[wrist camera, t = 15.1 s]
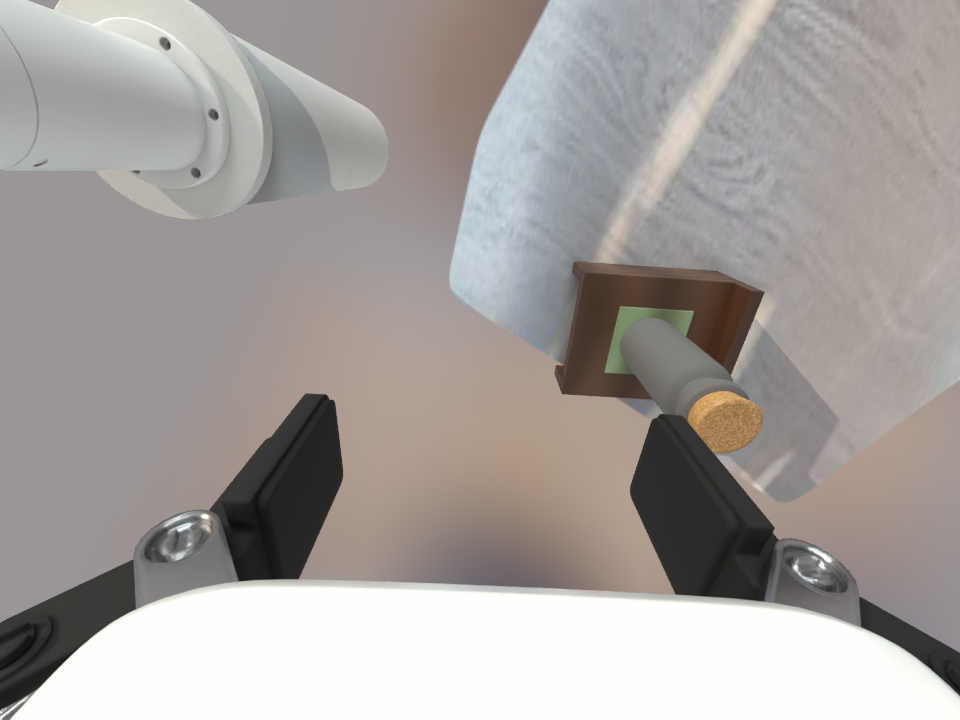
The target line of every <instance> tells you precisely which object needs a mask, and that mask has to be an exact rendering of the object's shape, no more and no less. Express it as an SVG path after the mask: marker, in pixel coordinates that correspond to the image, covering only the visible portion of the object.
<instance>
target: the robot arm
mask: <svg viewBox="0 0 960 720" xmlns="http://www.w3.org/2000/svg"><path fill="white" fill-rule="evenodd" d="M217 114H218V115H219V118H218V117H217ZM229 145H230V124H229V117H228V112H227V108H226V105H225V102H224V99H223V96H222V94H221V92H220V90H219V88H218V86H217V83H216V81H215V80H214V78H213V77H212V75H211V74H210V72H209V71H208V69H207V67H206V66H205V65H204V64H203V62H202V61H201V60H200V59H199V58H198V57H197V55H196V54H195V53H194V52H193V51H192V50H191V49H190V48H188V47H187V46H186V45H185V44H184V43H183V42H182V41H180V40H179V39H178V38H176V37H174V36H173V35H171V34H170V33H168V32H167V31H165V30H163V29H161V28H158V27H156V26H154V25H152V24H150V23H147V22H144V21H141V20H137V19H134V18H125V17H115V18H109V19H104V20H101V21H99V22H97V23H95V24H93V25H92V24H90V23H87V22H84V21H82V20H79V19H76V18H74V17H71V16H68V15H66V14H63V13H60V12H57V11H55V10H52V9H49V8H47V7H44V6H41V5H38V4H36V3H33V2H31V1H28V0H0V171H92V170H93V171H127V172H129V173H130V174H131V175H133V176H135V177H137V178H139V179H141V180H142V181H144V182H147V183H150V184H153V185H156V186H159V187H165V188H171V189H176V188H189V187H196V186H198V185H201V184H203V183H206V182H207V181H208V180H210V179H211V178H212V177H214V176H215V175H216V174H217V172H218V171H219V170H220V169H221V167H222V166H223V164H224V161H225V159H226V157H227V154H228V149H229ZM200 173H201V174H200ZM342 466H343V465H342V457H341V449H340V441H339V432H338V424H337V416H336V407H335V402H334V400H329V398H328V396H327V395H324V394H323V395H322V394H305V395H304V396H303V397H302V399H301V400H300V401H299V402H298V404H297V405H296V406H295V407H294V409H293V410H292V411H291V413H290V414H289V415H288V416H287V418H286V419H285V420H284V421H283V423H282V424H281V425H280V426H279V428H278V429H277V430H276V432H275V433H274V434H273V435H272V437H270V438H268V439H266V440H265V441H264V442H263V444H262V445H261V446H260V447H259V448H258V450H257V451H256V452H255V454H254V455H253V456H252V457H251V458H250V460H249V461H248V462H247V463H246V465H245V466H244V467H243V469H242V470H241V471H240V472H239V473H238V475H237V476H236V477H235V478H234V480H233V481H232V482H231V483H230V485H229V486H228V487H227V489H226V490H225V491H224V492H223V493H222V495H221V496H220V497H219V499H218V500H217V501H216V502H215V504H214V505H213V506H212V507H211V509H210V510H209V511H208V510H191V511H186V512H183V513H179V514H176V515H174V516H172V517H170V518H168V519H165V520H163V521H162V522H160V523H159V524H157V525H156V526H155V527H153V528H151V529H150V530H149V531H148V532H147V533H146V534H145V535H144V536H143V537H142V538H141V540H140V541H139V543H138V544H137V546H136V547H135V551H134V556H133V558H134V559H133V560H131V561H129V562H127V563H125V564H123V565H121V566H118V567H116V568H114V569H112V570H110V571H108V572H106V573H104V574H102V575H99V576H97V577H95V578H93V579H91V580H89V581H87V582H85V583H82V584H80V585H78V586H76V587H74V588H72V589H70V590H68V591H65V592H63V593H61V594H59V595H57V596H55V597H53V598H51V599H49V600H46V601H44V602H42V603H40V604H38V605H36V606H34V607H32V608H30V609H27V610H25V611H23V612H21V613H19V614H17V615H15V616H12V617H10V618H8V619H6V620H5V621H3V622H1V623H0V720H960V653H959V652H957V651H956V650H954V649H952V648H950V647H949V646H947V645H945V644H943V643H941V642H940V641H938V640H936V639H934V638H932V637H931V636H929V635H927V634H925V633H924V632H922V631H920V630H918V629H916V628H915V627H913V626H911V625H909V624H908V623H906V622H904V621H902V620H900V619H899V618H897V617H895V616H893V615H891V614H890V613H888V612H886V611H884V610H882V609H881V608H879V607H877V606H875V605H874V604H872V603H870V602H868V601H867V600H865V599H863V598H861V597H859V590H858V587H857V583H856V581H855V579H854V578H853V576H852V575H851V573H850V572H849V570H848V569H846V567H845V566H843V564H842V563H840V562H839V561H838V560H837V559H836V558H834V557H833V556H832V555H830V554H829V553H828V552H826V551H824V550H822V549H821V548H819V547H817V546H815V545H813V544H810V543H808V542H805V541H802V540H798V539H793V538H786V539H781V540H778V539H777V538H776V536H775V535H774V534H773V533H772V532H773V530H774V526H773V525H772V524H771V523H770V521H769V520H768V519H767V518H766V516H765V515H764V514H763V513H762V512H761V510H760V509H759V508H758V507H757V506H756V504H755V503H754V502H753V501H752V500H751V498H750V497H749V496H748V495H747V493H746V492H745V491H744V490H743V489H742V487H741V486H740V485H739V484H738V483H737V481H736V480H735V479H734V478H733V476H732V475H731V474H730V473H729V471H728V470H727V469H726V468H725V467H724V465H723V464H722V463H721V462H720V460H719V459H718V458H717V457H716V456H715V454H714V453H713V452H712V451H711V450H710V448H709V447H708V446H707V445H706V443H705V442H704V441H703V440H702V439H701V437H700V436H699V435H698V434H697V432H696V431H695V430H694V429H693V428H692V426H691V425H690V424H689V423H688V422H687V420H686V419H685V418H684V417H683V416H682V415H671V414H660V415H659V416H658V417H657V419H656V418H655V419H653V420H652V422H651V424H650V427H649V430H648V434H647V437H646V440H645V443H644V446H643V449H642V452H641V455H640V458H639V461H638V464H637V467H636V471H635V474H634V477H633V480H632V483H631V487H630V494H631V498H632V500H633V503H634V505H635V507H636V509H637V511H638V513H639V516H640V518H641V520H642V522H643V525H644V527H645V529H646V531H647V533H648V535H649V538H650V540H651V542H652V544H653V546H654V548H655V551H656V553H657V555H658V557H659V559H660V561H661V563H662V566H663V568H664V570H665V572H666V575H667V576H668V579H669V581H670V583H671V585H672V587H673V590H674V592H675V594H676V595H674V594H654V593H634V592H614V591H593V590H573V589H551V588H527V587H506V586H483V585H460V584H459V585H458V584H434V583H408V582H382V581H353V580H307V579H304V580H303V579H299V577H300V575H301V573H302V571H303V568H304V566H305V564H306V562H307V559H308V557H309V555H310V553H311V550H312V548H313V546H314V543H315V541H316V539H317V536H318V535H319V532H320V530H321V528H322V525H323V523H324V521H325V519H326V517H327V514H328V512H329V510H330V507H331V505H332V503H333V501H334V499H335V496H336V494H337V492H338V490H339V487H340V485H341V482H342V479H343V467H342Z"/></svg>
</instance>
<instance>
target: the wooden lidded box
mask: <svg viewBox="0 0 960 720" xmlns="http://www.w3.org/2000/svg"><path fill="white" fill-rule="evenodd" d="M572 272H573V273H574V274H575V276H576V277H577V278H578V279H579V280H580V285H579V291H578V296H577V301H576V307H575V312H574V317H573V323H572V328H571V334H570V339H569V344H568V350H567V355H566V360H565V366H559V365H556V368H555V376H556V378H557V381H558V384H559V387H560V390H561V392H562V394H569V395H586V396H603V397H620V398H637V399H653V398H652V397H651V396H650V394H649V393H648V392H647V390H646V389H645V388H644V386H643V385H642V384H641V382H640V381H639V380H638V378H637V377H636V376H635V374H634V373H633V372H632V370H631V369H630V368H629V366H628V365H627V364H626V362H625V361H624V359H623V358H622V356H621V353H620V341H621V338H622V336H623V334H624V333H625V331H626V330H627V329H628V328H629V327H630V326H631V325H632V324H634V323H636V322H637V321H639V320H642V319H646V318H659V319H662V320H665V321H666V322H668V323H669V324H671V325H672V326H673V327H675V328H676V329H677V330H678V331H680V332H681V333H682V334H683V335H685V336H686V337H687V338H688V339H690V340H691V341H692V342H693V343H694V344H696V345H697V346H698V347H699V348H701V349H702V350H703V351H704V352H706V353H707V354H708V355H709V356H710V357H712V358H713V359H714V360H715V361H717V362H718V363H719V364H720V365H721V366H723V367H724V368H725V369H726V370H727V371H728V373H729V374H730V375H731V373H732V371H733V368H734V366H735V363H736V361H737V358H738V356H739V354H740V351H741V349H742V346H743V344H744V341H745V339H746V336H747V334H748V332H749V329H750V327H751V324H752V322H753V319H754V317H755V314H756V312H757V310H758V307H759V305H760V302H761V300H762V297H763V295H764V291H762V290H759V289H757V288H755V287H752V286H750V285H748V284H745V283H743V282H741V281H738V280H736V279H734V278H731V277H729V276H727V275H724V274H722V273H720V272H717V271H706V270H691V269H677V268H662V267H647V266H633V265H618V264H604V263H589V262H574V265H573V271H572Z"/></svg>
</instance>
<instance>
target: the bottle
mask: <svg viewBox="0 0 960 720" xmlns="http://www.w3.org/2000/svg"><path fill="white" fill-rule="evenodd" d="M620 353H621V356H622V358H623V359H624V361H625V362H626V364H627V365H628V366H629V368H630V369H631V370H632V372H633V373H634V374H635V376H636V377H637V378H638V380H639V381H640V382H641V384H642V385H643V386H644V388H645V389H646V390H647V392H648V393H649V394H650V396H651V397H652V398H653V400H654V401H655V402H656V403H657V405H658V406H659V407H660V409H661V410H662V411H663V412H664V413H665V414H671V415H682V416H683V417H684V418H685V419H686V420H687V422H688V423H689V424H690V425H691V426H692V428H693V429H694V430H695V431H696V432H697V434H698V435H699V436H700V437H701V439H702V440H703V441H704V442H705V443H706V445H707V446H708V447H709V448H710V450H711V451H712V452H713V453H718V454H721V453H729V452H733V451H736V450H738V449H740V448H742V447H744V446H746V445H747V444H749V443H750V442H751V441H752V440H753V439H754V438H755V437H756V436H757V435H758V433H759V431H760V430H761V427H762V424H763V414H762V412H761V410H760V408H759V407H758V406H757V405H756V404H754V403H753V402H751V401H749V399H748V396H747V394H746V393H745V392H744V391H743V390H742V389H741V388H740V387H739V386H738V385H736V384H735V383H733V380H732V377H731V375H730V374H729V373H728V371H727V370H726V369H725V368H724V367H723V366H721V365H720V364H719V363H718V362H717V361H715V360H714V359H713V358H712V357H710V356H709V355H708V354H707V353H706V352H704V351H703V350H702V349H701V348H699V347H698V346H697V345H696V344H694V343H693V342H692V341H691V340H690V339H688V338H687V337H686V336H685V335H683V334H682V333H681V332H680V331H678V330H677V329H676V328H675V327H673V326H672V325H671V324H669V323H668V322H666V321H665V320H662V319H659V318H646V319H642V320H639V321H637V322H636V323H634V324H632V325H631V326H630V327H629V328H628V329H627V330H626V331H625V333H624V334H623V336H622V338H621V341H620Z"/></svg>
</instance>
